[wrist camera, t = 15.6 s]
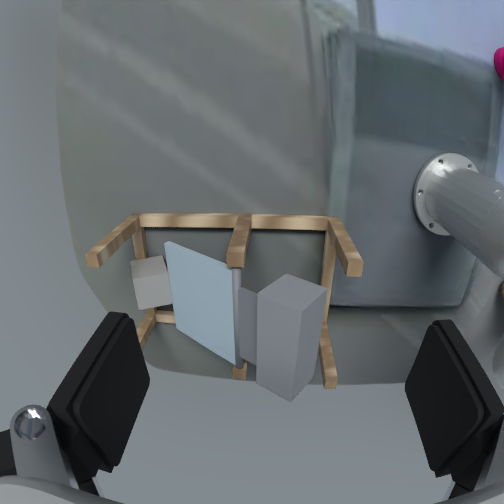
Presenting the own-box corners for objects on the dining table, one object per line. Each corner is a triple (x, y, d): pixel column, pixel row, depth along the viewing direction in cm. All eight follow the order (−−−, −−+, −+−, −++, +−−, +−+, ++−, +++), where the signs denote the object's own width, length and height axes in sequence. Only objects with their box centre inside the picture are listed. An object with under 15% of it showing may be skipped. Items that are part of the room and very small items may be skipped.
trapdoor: (328, 281, 31) (302, 304, 27) (312, 381, 37) (290, 406, 33) (186, 232, 43) (157, 243, 39) (195, 318, 49) (171, 333, 45)
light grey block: (132, 279, 40) (130, 260, 45) (139, 310, 42) (135, 289, 47) (168, 272, 42) (162, 255, 47) (172, 303, 44) (166, 283, 49)
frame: (338, 216, 43) (363, 262, 30) (324, 324, 50) (335, 388, 38) (132, 213, 44) (85, 254, 32) (150, 316, 52) (120, 373, 39)
